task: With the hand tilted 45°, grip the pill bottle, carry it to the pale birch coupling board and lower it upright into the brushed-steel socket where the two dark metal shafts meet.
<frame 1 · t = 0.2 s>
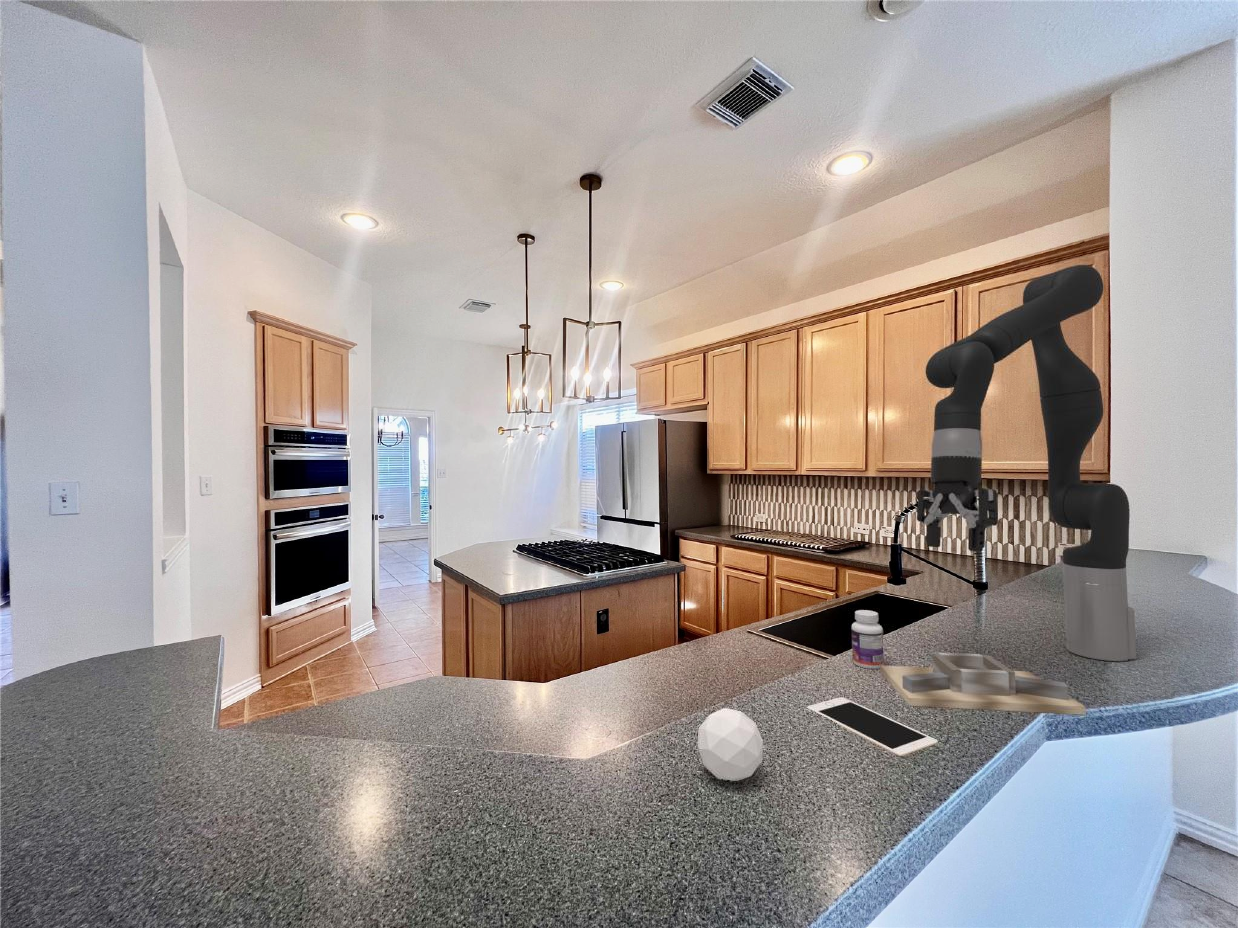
hand: (953, 548, 91), 23 cm above the countertop, tool pointing down, fingers open, 8 cm apart
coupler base: (972, 691, 86), on the countertop
pill bottle: (868, 665, 99), on the countertop
cell phone: (867, 727, 76), on the countertop
ball: (730, 776, 63), on the countertop
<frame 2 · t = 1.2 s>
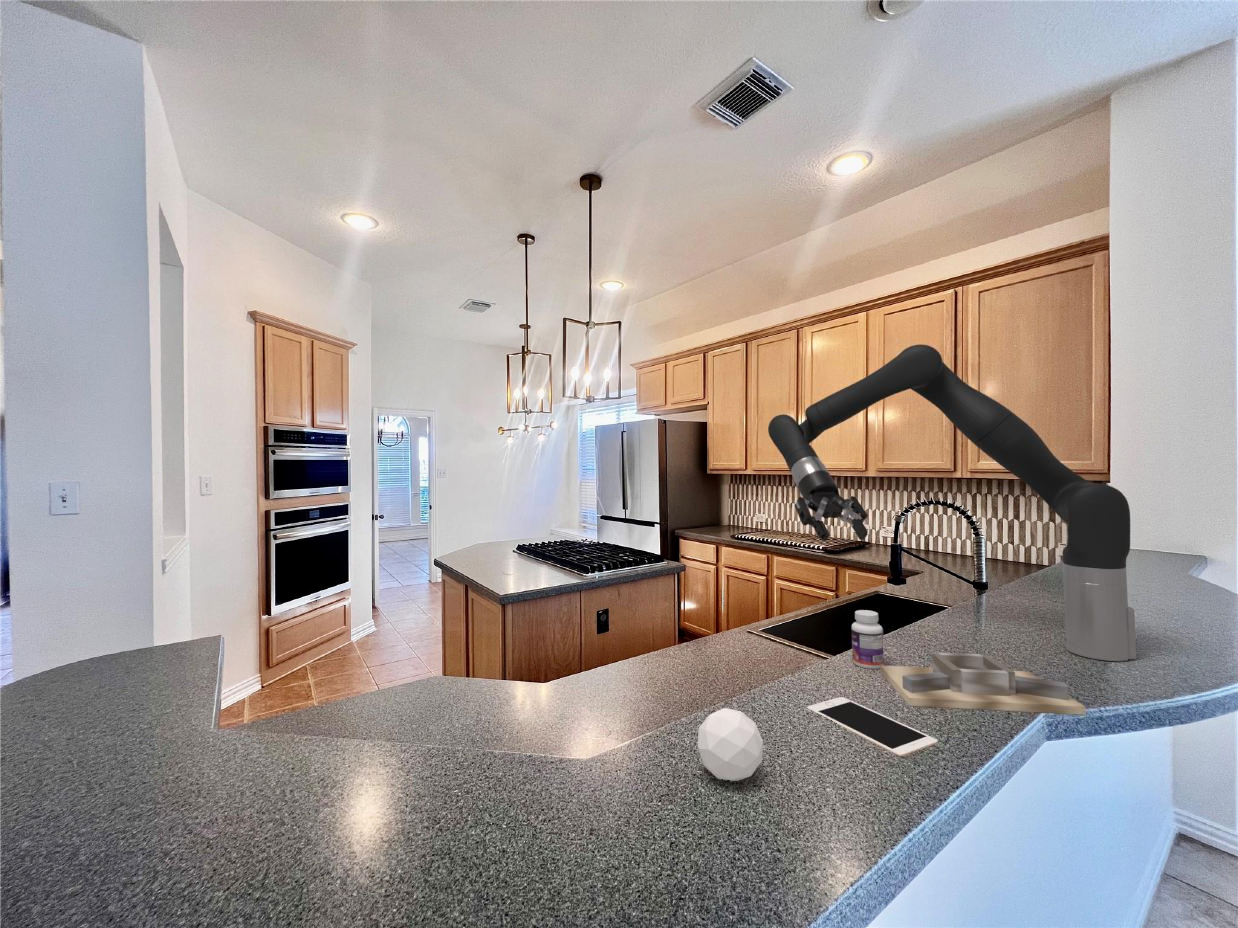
hand: (845, 537, 107), 23 cm above the countertop, tool tilted 45°, fingers open, 8 cm apart
nothing on the countertop moved.
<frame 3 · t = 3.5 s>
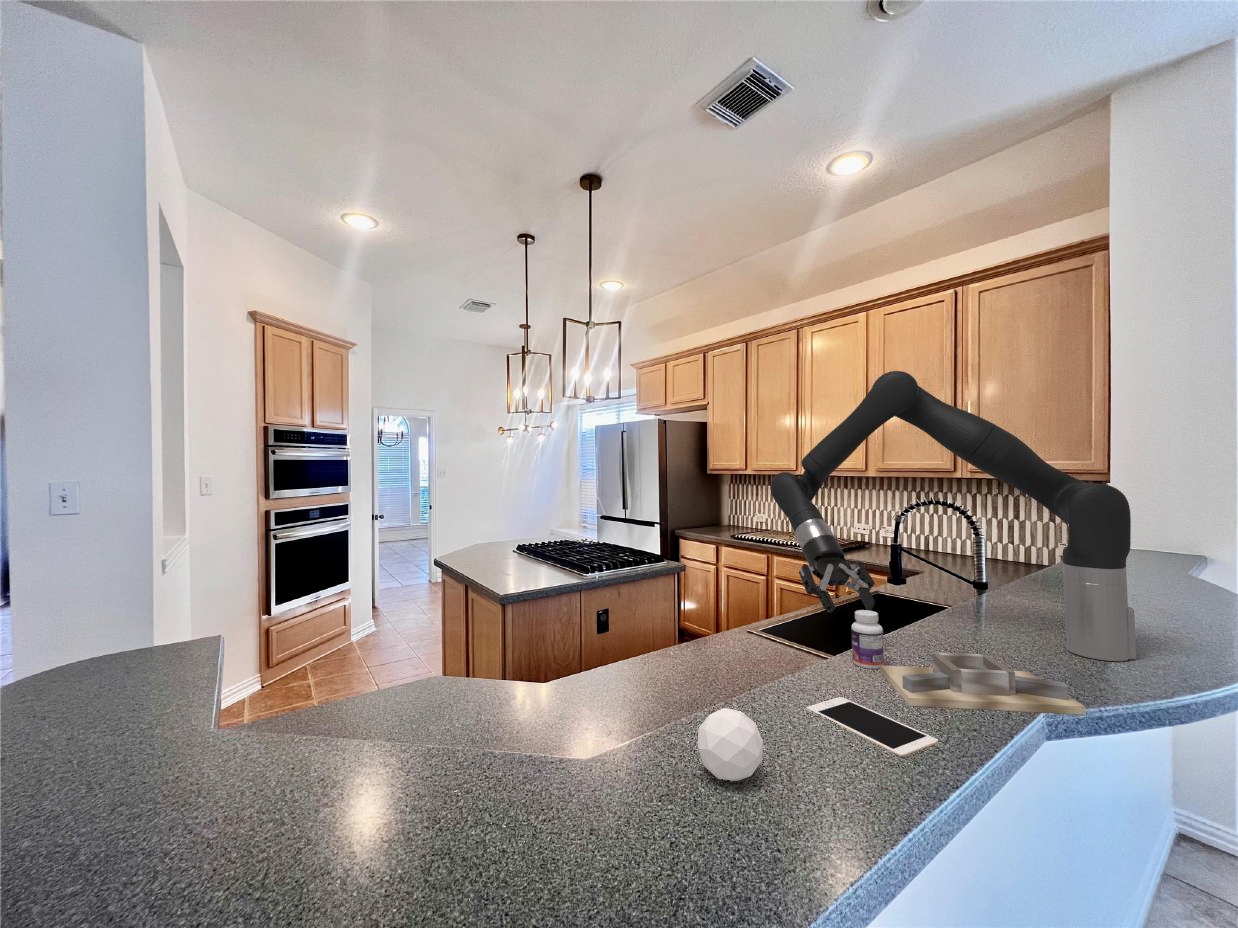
hand: (851, 609, 104), 9 cm above the countertop, tool tilted 45°, fingers open, 8 cm apart
nothing on the countertop moved.
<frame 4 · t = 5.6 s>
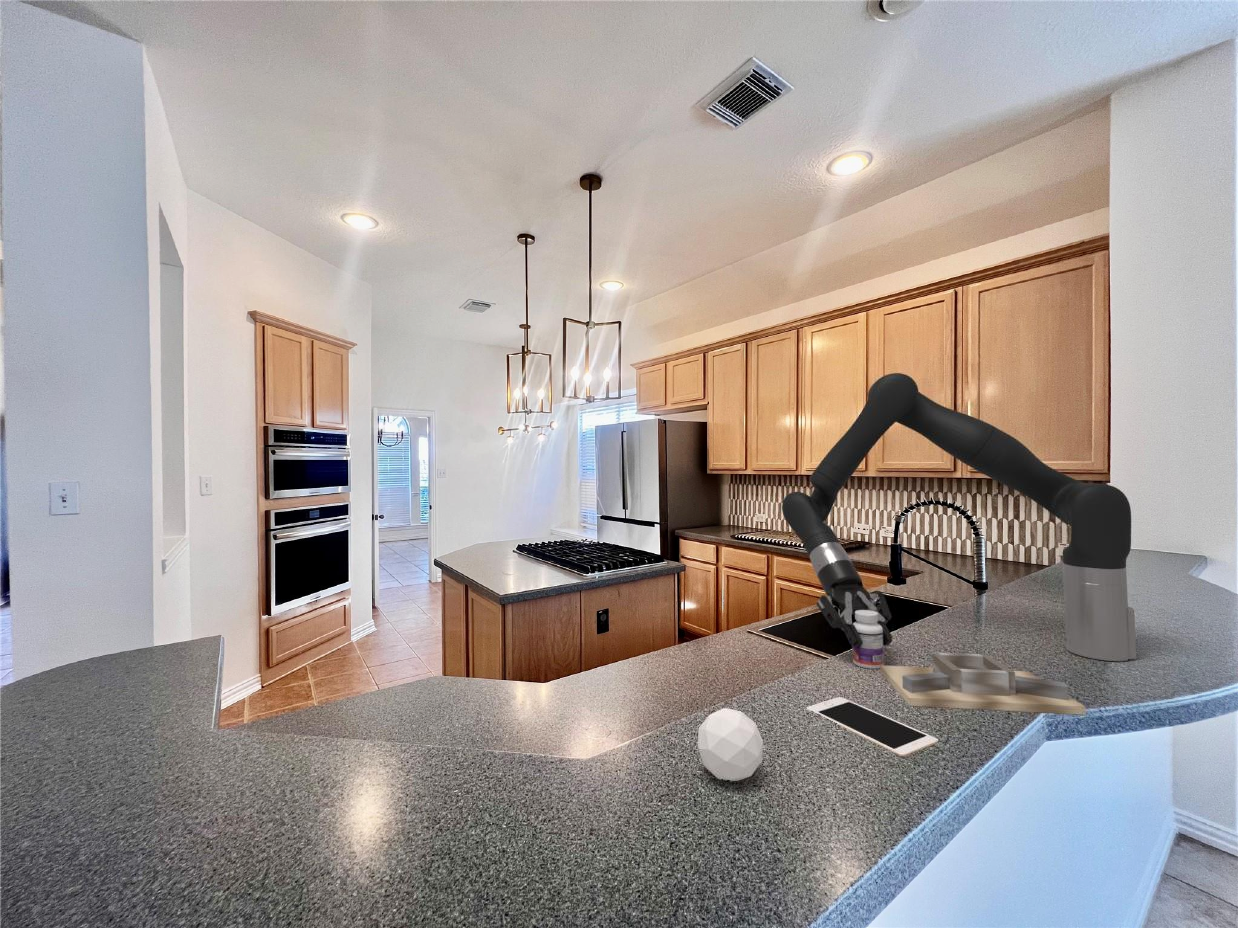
hand: (873, 644, 97), 4 cm above the countertop, tool tilted 45°, fingers closed on pill bottle, 5 cm apart
pill bottle: (868, 665, 99), on the countertop, touching gripper
everything else where it was.
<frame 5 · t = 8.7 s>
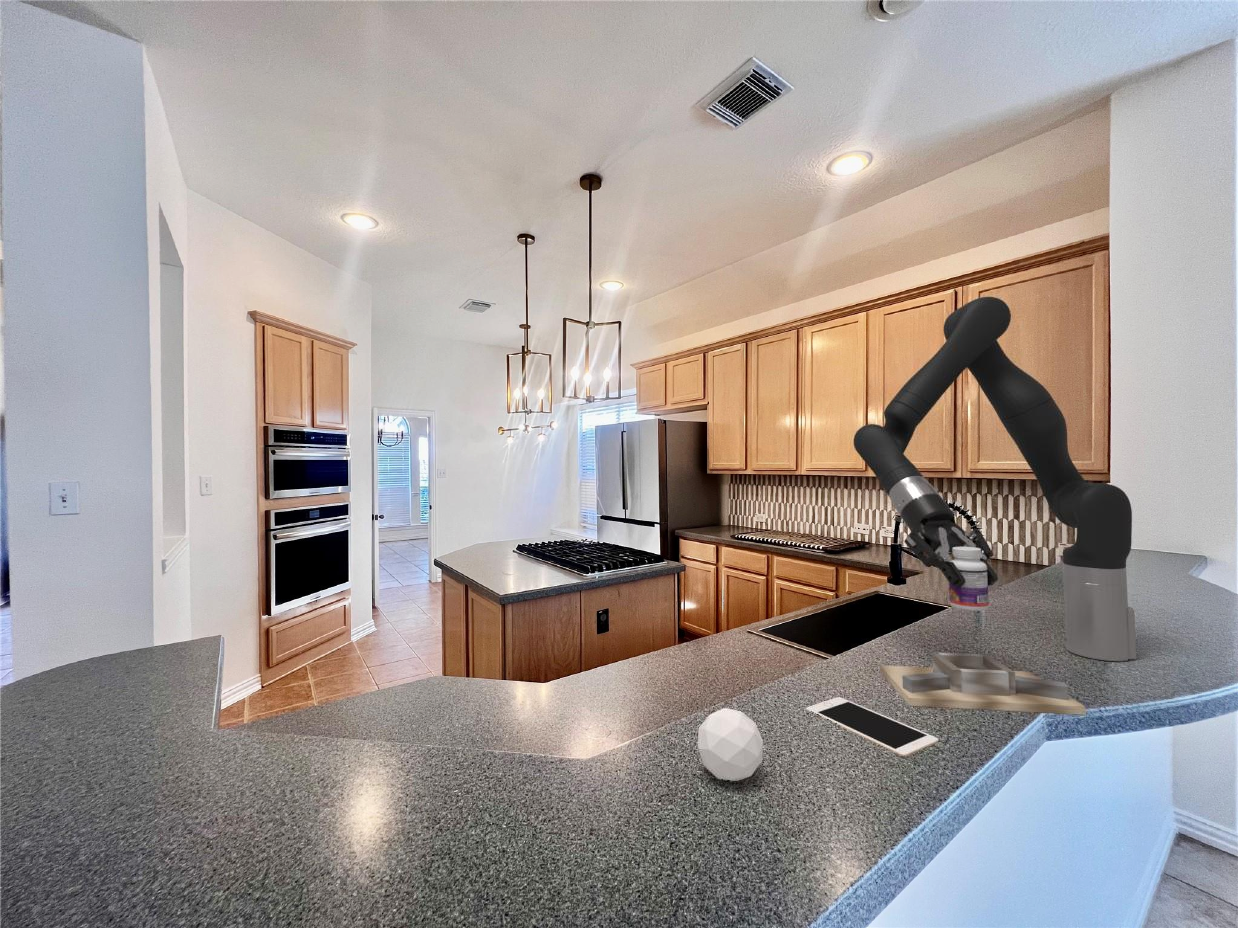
hand: (976, 583, 85), 18 cm above the countertop, tool tilted 45°, fingers closed on pill bottle, 5 cm apart
pill bottle: (968, 608, 87), point 13 cm above the countertop, touching gripper
everything else where it was.
when the fingers open (7 cm above the countertop, at t = 11.7 s): pill bottle drops 2 cm, resting on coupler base.
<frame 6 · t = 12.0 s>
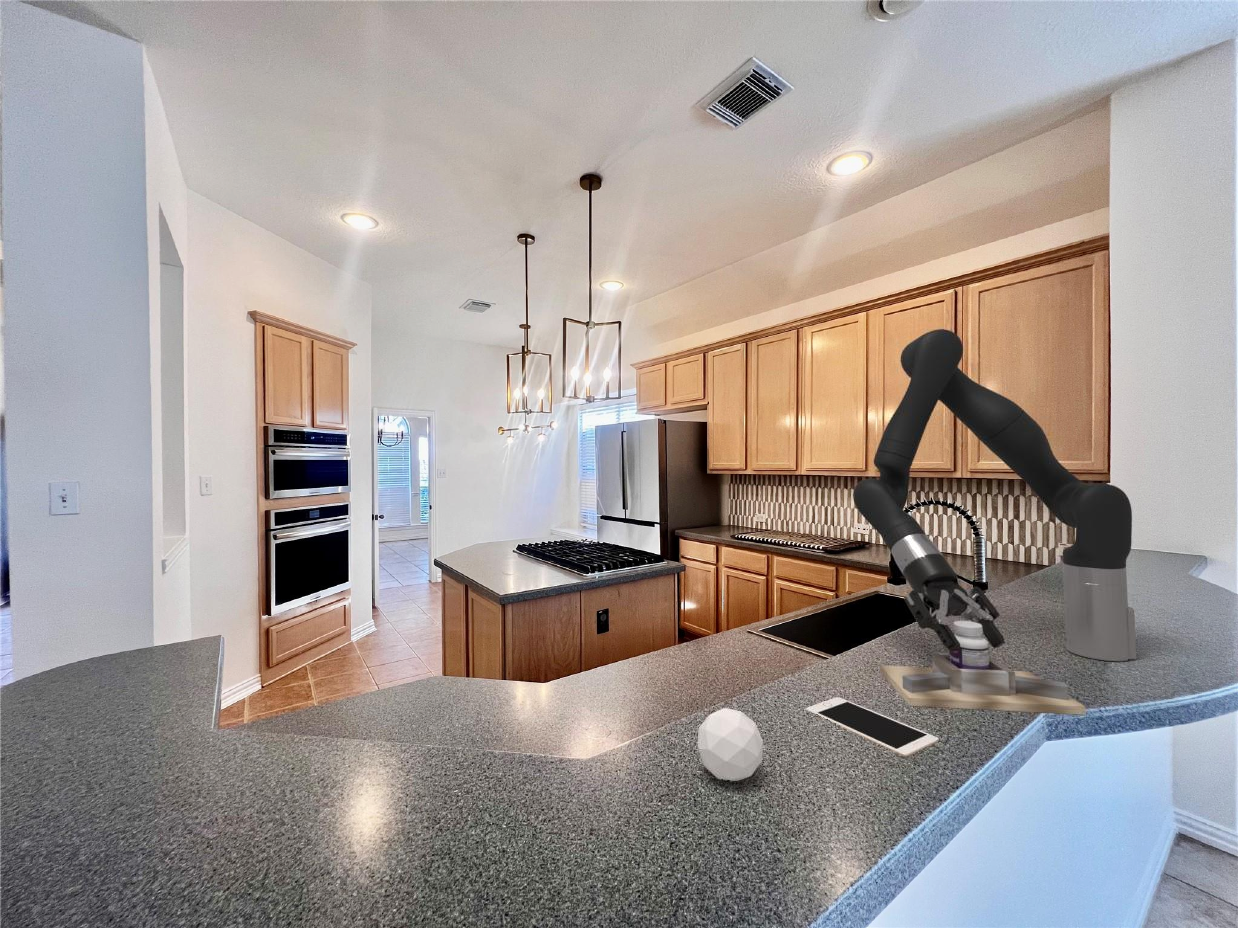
hand: (978, 647, 85), 8 cm above the countertop, tool tilted 45°, fingers open, 8 cm apart
pill bottle: (970, 684, 86), point 1 cm above the countertop, touching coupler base
everything else where it was.
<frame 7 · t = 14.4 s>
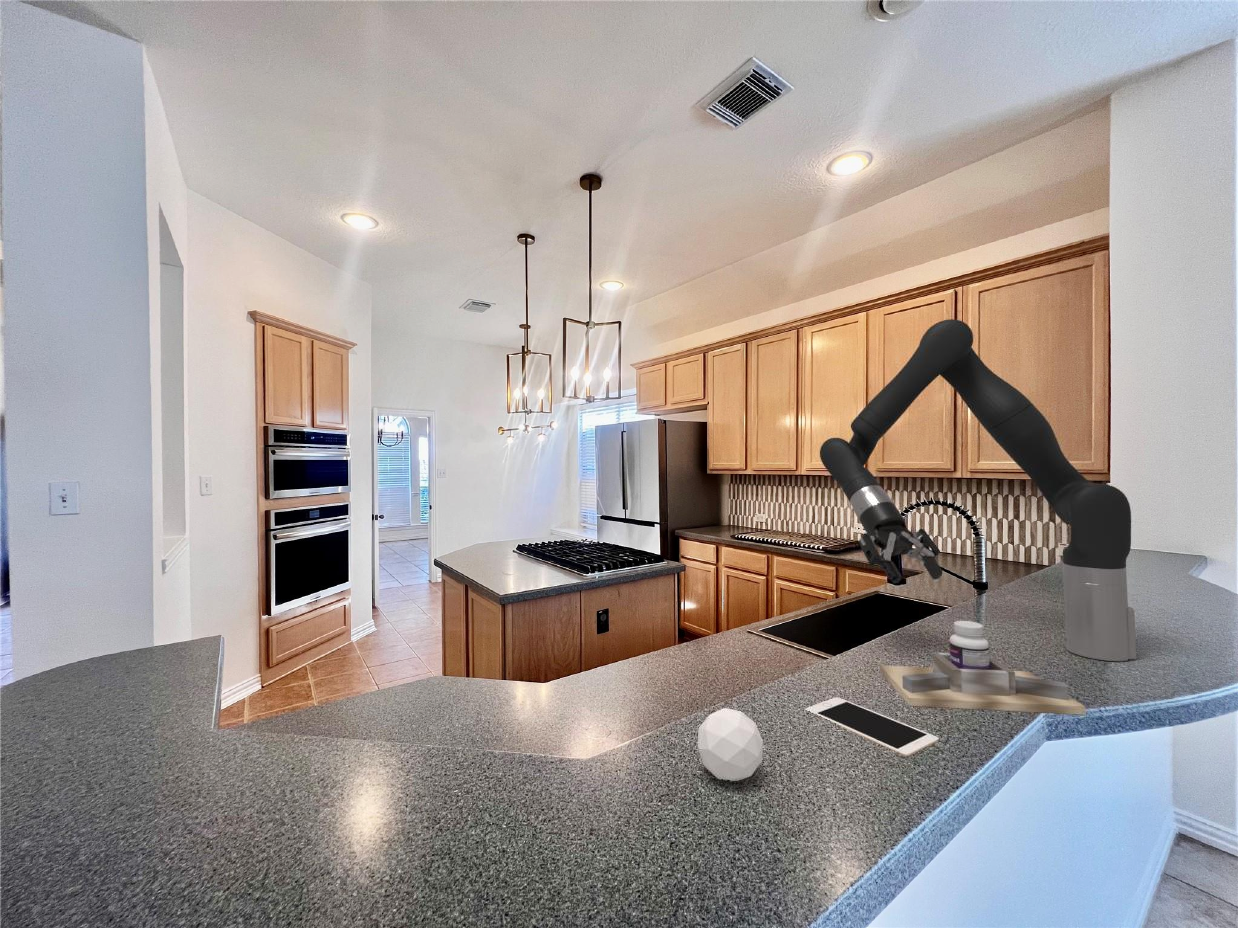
hand: (918, 578, 99), 16 cm above the countertop, tool tilted 45°, fingers open, 8 cm apart
nothing on the countertop moved.
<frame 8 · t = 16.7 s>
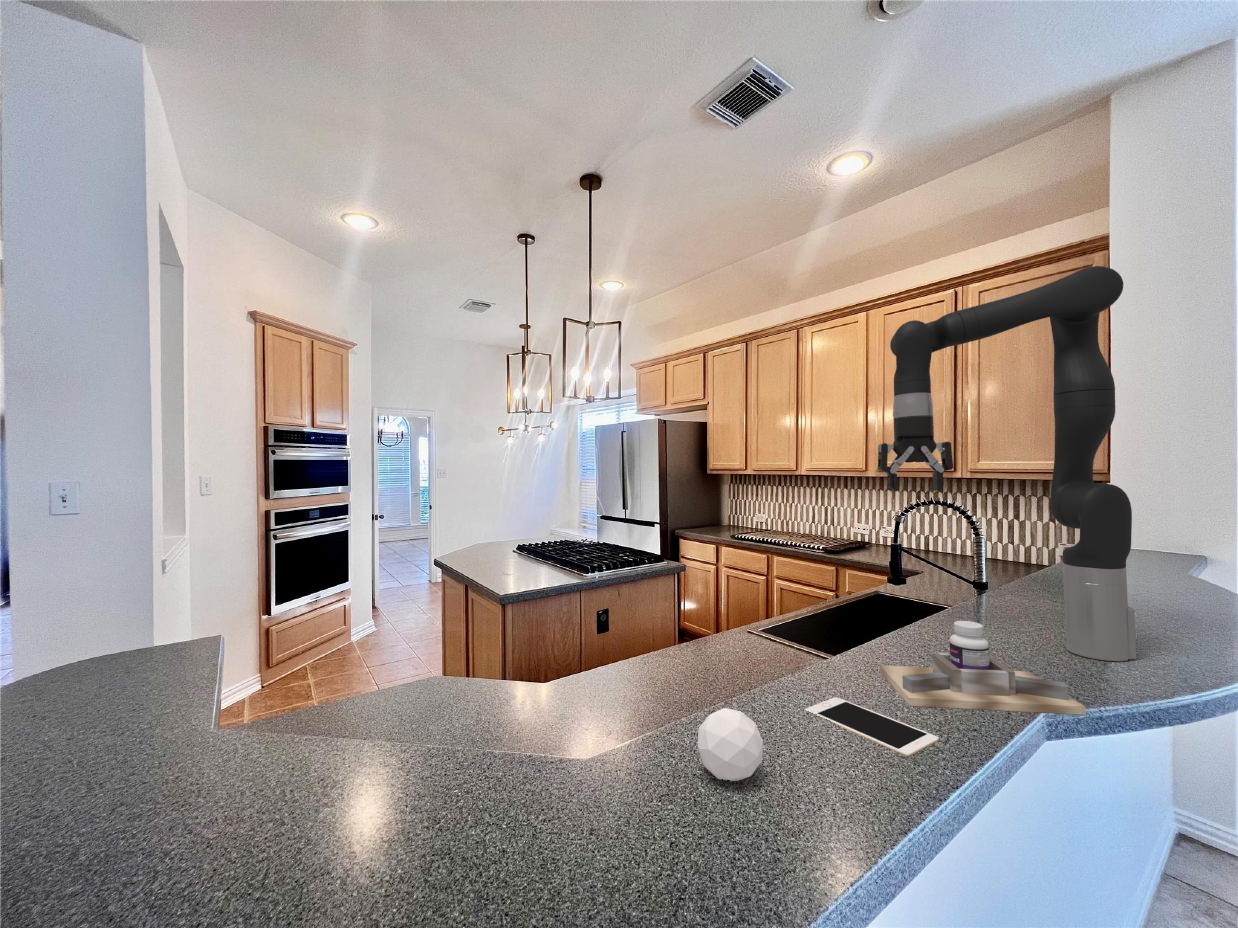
hand: (915, 490, 113), 32 cm above the countertop, tool pointing down, fingers open, 8 cm apart
nothing on the countertop moved.
at the end: pill bottle 0.2 cm off-centre on the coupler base, point 1.0 cm above the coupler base's base; pill bottle tilted 0°; the gripper is holding nothing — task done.
